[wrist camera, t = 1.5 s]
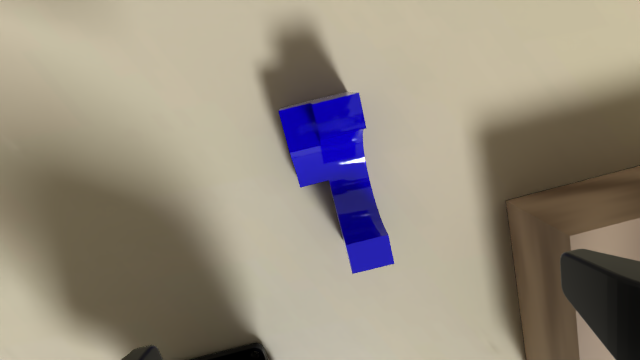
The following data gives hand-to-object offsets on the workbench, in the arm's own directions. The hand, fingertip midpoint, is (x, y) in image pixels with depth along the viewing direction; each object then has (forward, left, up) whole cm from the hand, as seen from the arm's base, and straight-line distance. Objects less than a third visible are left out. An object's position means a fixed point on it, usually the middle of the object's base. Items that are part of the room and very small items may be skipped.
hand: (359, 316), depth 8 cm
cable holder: (0, 0, -13) cm, 13 cm away
